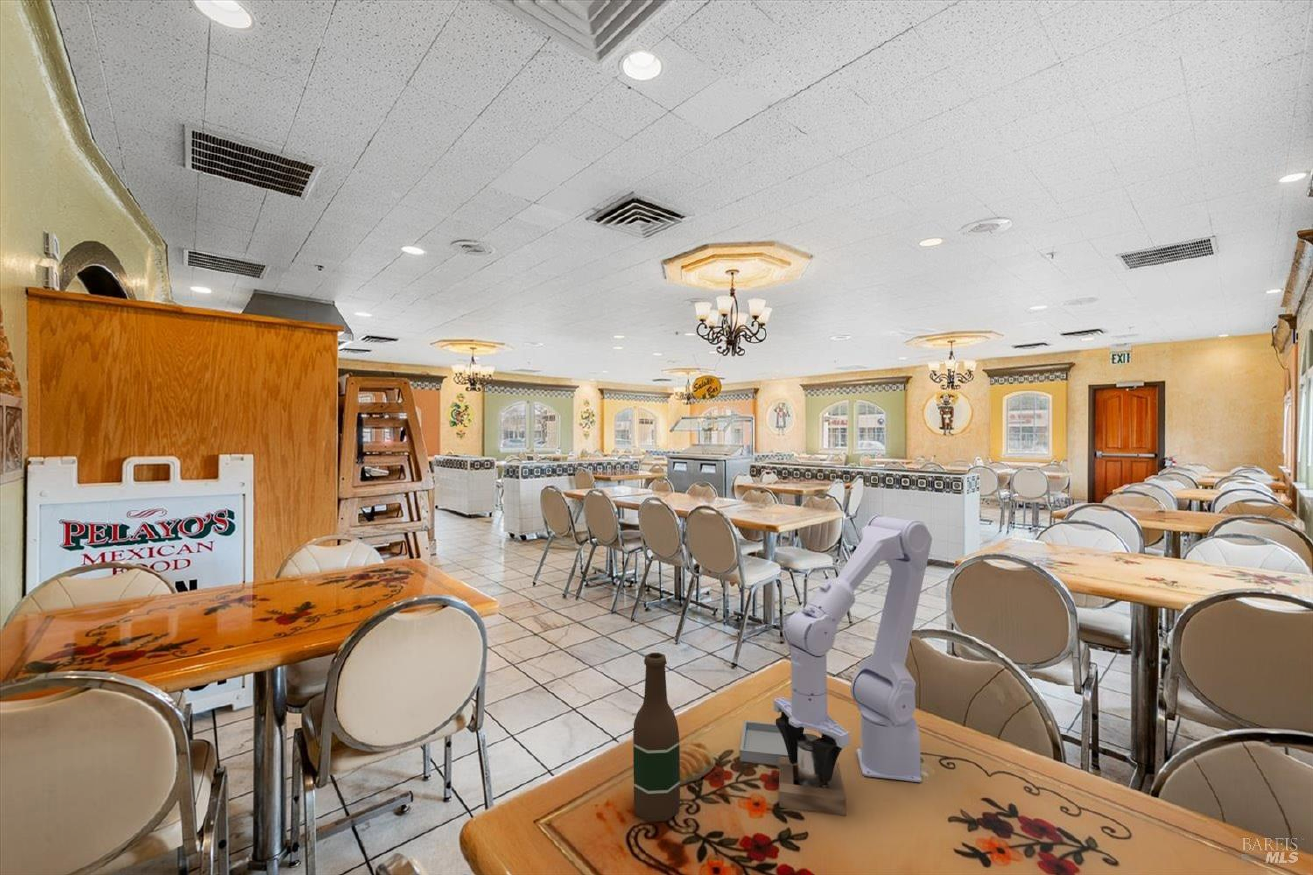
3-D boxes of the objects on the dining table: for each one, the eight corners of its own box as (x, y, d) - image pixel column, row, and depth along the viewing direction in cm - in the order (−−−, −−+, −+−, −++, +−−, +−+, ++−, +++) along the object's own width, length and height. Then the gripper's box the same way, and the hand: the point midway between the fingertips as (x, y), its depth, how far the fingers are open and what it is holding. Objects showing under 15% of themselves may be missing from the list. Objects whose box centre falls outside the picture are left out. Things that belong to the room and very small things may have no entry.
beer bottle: (686, 797, 90) (685, 649, 90) (672, 829, 82) (671, 667, 82) (642, 787, 92) (641, 644, 92) (624, 817, 85) (623, 661, 85)
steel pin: (822, 785, 92) (821, 734, 92) (823, 801, 88) (823, 747, 88) (797, 782, 93) (796, 732, 93) (798, 797, 89) (797, 745, 89)
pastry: (687, 794, 91) (686, 770, 91) (655, 779, 95) (655, 756, 95) (718, 767, 98) (717, 746, 98) (687, 755, 102) (687, 734, 102)
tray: (805, 736, 108) (805, 726, 108) (808, 768, 97) (808, 757, 97) (743, 730, 110) (743, 720, 110) (739, 761, 100) (739, 749, 100)
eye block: (838, 777, 94) (838, 762, 94) (845, 815, 85) (845, 799, 85) (779, 770, 97) (779, 756, 97) (779, 807, 87) (779, 791, 87)
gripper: (760, 678, 95) (761, 757, 95) (827, 712, 83) (828, 803, 82) (789, 668, 99) (790, 745, 98) (857, 700, 86) (859, 787, 86)
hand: (810, 770), depth 91 cm, fingers open, 6 cm apart
